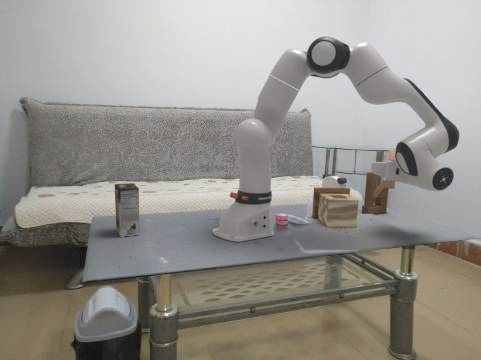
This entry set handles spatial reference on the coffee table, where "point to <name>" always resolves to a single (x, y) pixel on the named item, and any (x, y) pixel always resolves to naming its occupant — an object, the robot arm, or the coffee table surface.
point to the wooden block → (375, 196)
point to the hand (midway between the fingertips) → (390, 165)
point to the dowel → (391, 157)
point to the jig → (325, 191)
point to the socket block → (338, 210)
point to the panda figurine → (333, 181)
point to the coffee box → (127, 209)
